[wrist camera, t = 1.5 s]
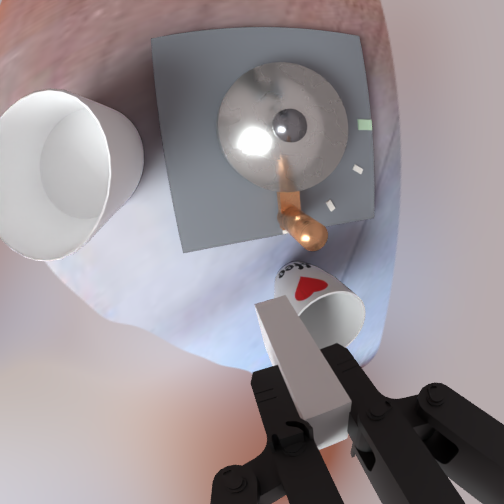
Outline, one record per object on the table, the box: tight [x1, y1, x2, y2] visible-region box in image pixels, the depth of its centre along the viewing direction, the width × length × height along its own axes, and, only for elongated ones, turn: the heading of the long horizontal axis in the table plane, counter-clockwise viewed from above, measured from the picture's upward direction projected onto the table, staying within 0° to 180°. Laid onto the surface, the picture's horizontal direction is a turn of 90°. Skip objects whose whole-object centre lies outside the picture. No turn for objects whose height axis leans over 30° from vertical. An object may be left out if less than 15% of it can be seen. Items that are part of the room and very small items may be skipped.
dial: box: [216, 62, 348, 251], centre depth 23 cm, size 16×12×6 cm
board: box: [151, 27, 374, 253], centre depth 26 cm, size 22×22×2 cm
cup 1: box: [0, 89, 144, 261], centre depth 19 cm, size 12×12×12 cm
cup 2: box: [274, 262, 365, 349], centre depth 30 cm, size 8×8×10 cm
